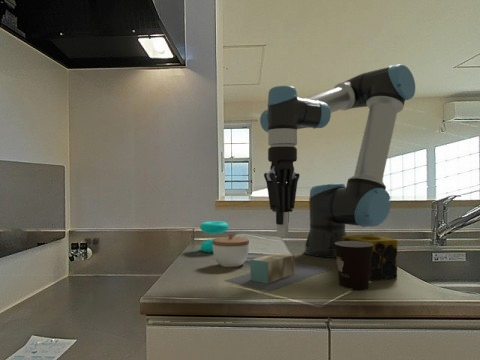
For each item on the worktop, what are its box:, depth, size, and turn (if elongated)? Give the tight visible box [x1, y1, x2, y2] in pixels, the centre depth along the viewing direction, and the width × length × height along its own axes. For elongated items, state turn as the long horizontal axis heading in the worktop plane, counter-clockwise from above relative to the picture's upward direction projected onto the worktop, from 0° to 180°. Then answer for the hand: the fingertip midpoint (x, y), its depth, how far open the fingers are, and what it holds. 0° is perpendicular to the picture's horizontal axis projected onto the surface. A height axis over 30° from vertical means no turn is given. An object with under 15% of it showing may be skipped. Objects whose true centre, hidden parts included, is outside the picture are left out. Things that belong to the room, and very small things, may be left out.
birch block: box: [249, 252, 296, 283], centre depth 98 cm, size 5×5×12 cm
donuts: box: [199, 220, 229, 253], centre depth 137 cm, size 10×10×10 cm
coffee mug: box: [335, 241, 373, 292], centre depth 92 cm, size 12×9×10 cm
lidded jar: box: [211, 233, 250, 268], centre depth 113 cm, size 11×11×9 cm
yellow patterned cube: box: [342, 233, 398, 282], centre depth 101 cm, size 10×10×10 cm
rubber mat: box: [224, 262, 332, 292], centre depth 101 cm, size 28×14×1 cm, turn 138°
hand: (282, 236), depth 102 cm, fingers closed
